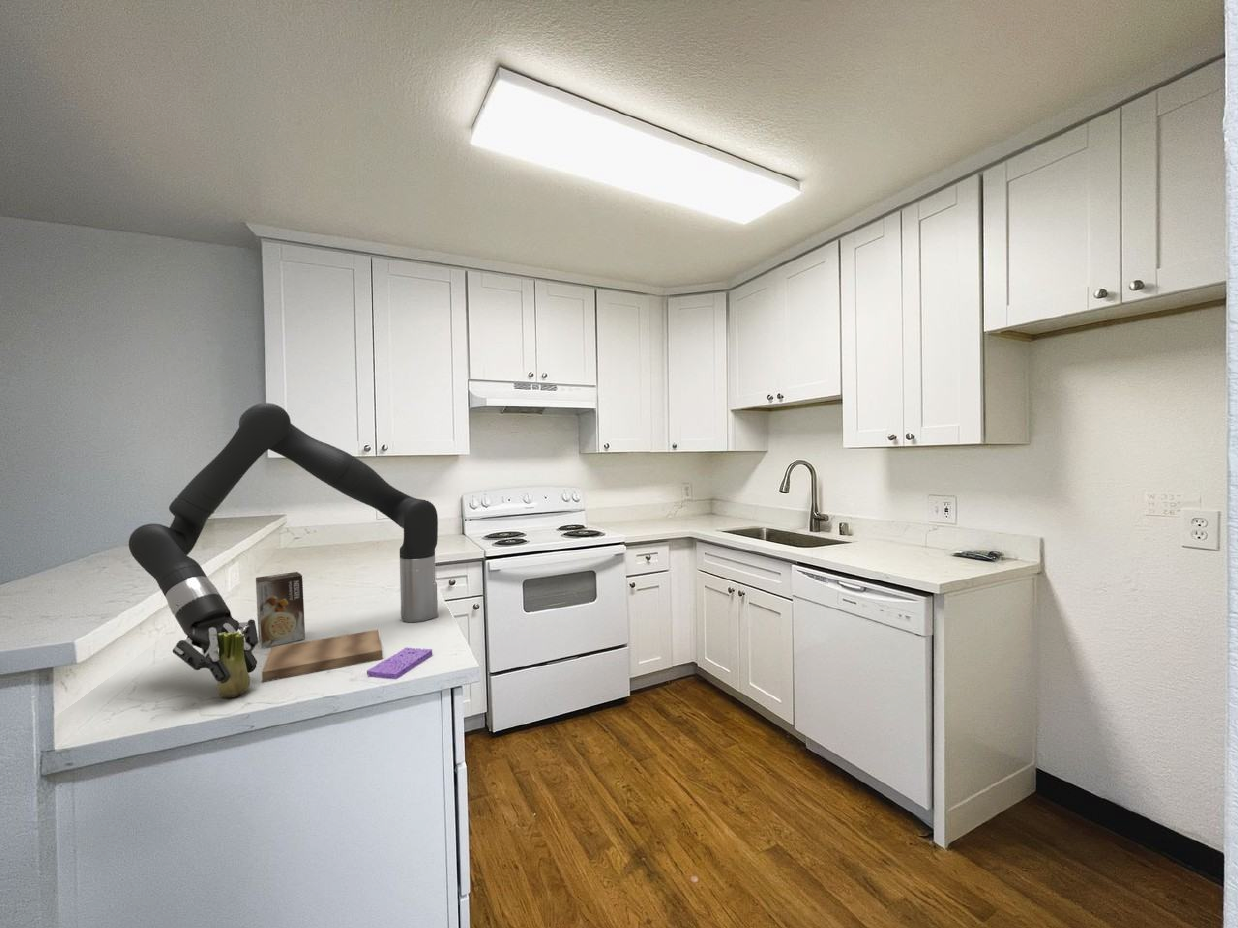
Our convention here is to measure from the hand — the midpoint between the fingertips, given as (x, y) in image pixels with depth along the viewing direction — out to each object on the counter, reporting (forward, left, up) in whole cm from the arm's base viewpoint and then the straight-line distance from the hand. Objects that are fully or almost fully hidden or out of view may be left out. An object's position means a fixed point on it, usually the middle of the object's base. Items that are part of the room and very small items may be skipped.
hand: (239, 674), depth 95 cm
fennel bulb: (+1, -1, -4) cm, 5 cm away
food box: (-4, -31, -4) cm, 31 cm away
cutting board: (-14, -12, -4) cm, 19 cm away
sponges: (-28, +1, -5) cm, 29 cm away
